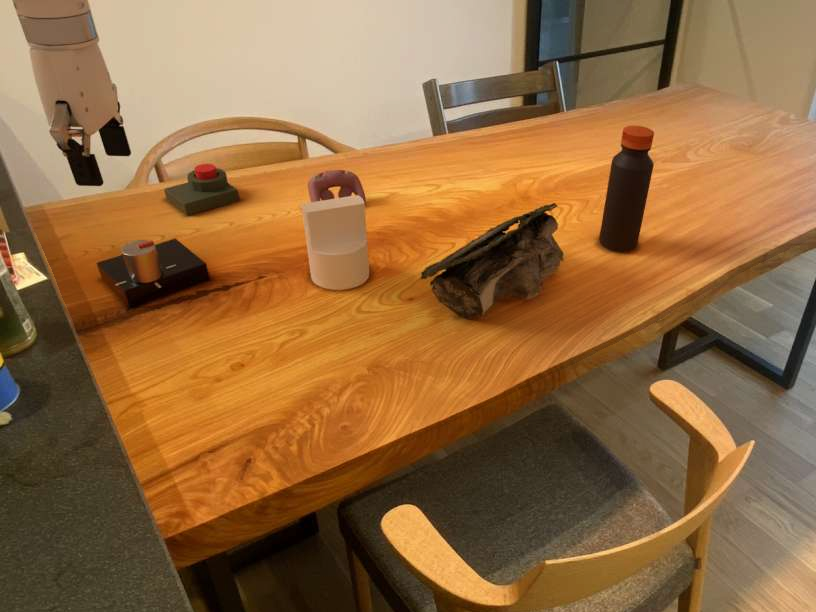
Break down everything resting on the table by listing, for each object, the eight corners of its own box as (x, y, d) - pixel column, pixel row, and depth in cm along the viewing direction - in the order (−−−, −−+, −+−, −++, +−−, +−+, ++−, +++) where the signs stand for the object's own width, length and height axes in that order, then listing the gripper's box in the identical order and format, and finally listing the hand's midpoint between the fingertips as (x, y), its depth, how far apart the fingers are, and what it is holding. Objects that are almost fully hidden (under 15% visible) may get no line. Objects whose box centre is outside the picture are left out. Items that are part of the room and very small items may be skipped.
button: (202, 182, 123) (200, 173, 122) (192, 176, 125) (190, 166, 124) (221, 177, 125) (219, 168, 124) (211, 171, 127) (209, 162, 126)
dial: (137, 286, 97) (128, 256, 94) (124, 274, 100) (115, 244, 97) (168, 276, 100) (160, 246, 97) (155, 264, 102) (146, 235, 99)
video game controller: (362, 205, 131) (355, 167, 129) (368, 204, 127) (361, 165, 125) (310, 213, 127) (302, 174, 125) (315, 212, 123) (306, 172, 121)
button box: (187, 215, 121) (181, 194, 118) (165, 199, 125) (160, 178, 123) (241, 200, 127) (237, 179, 124) (219, 185, 131) (214, 164, 128)
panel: (135, 316, 97) (128, 297, 95) (100, 280, 103) (93, 262, 101) (217, 286, 104) (213, 268, 102) (179, 254, 110) (175, 237, 108)
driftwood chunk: (438, 358, 101) (495, 327, 89) (391, 283, 100) (442, 242, 88) (552, 281, 118) (612, 246, 106) (512, 216, 116) (569, 174, 104)
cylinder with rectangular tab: (320, 294, 104) (311, 222, 96) (304, 266, 110) (294, 195, 102) (377, 282, 107) (372, 211, 100) (358, 255, 113) (353, 186, 106)
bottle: (590, 242, 121) (608, 129, 109) (613, 231, 125) (633, 120, 113) (622, 257, 118) (644, 142, 105) (644, 244, 122) (668, 132, 109)
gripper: (59, 11, 87) (101, 144, 98) (-12, 47, 74) (46, 197, 85) (120, 13, 88) (156, 145, 98) (61, 49, 74) (109, 198, 85)
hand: (105, 169), depth 91 cm, fingers open, 9 cm apart
